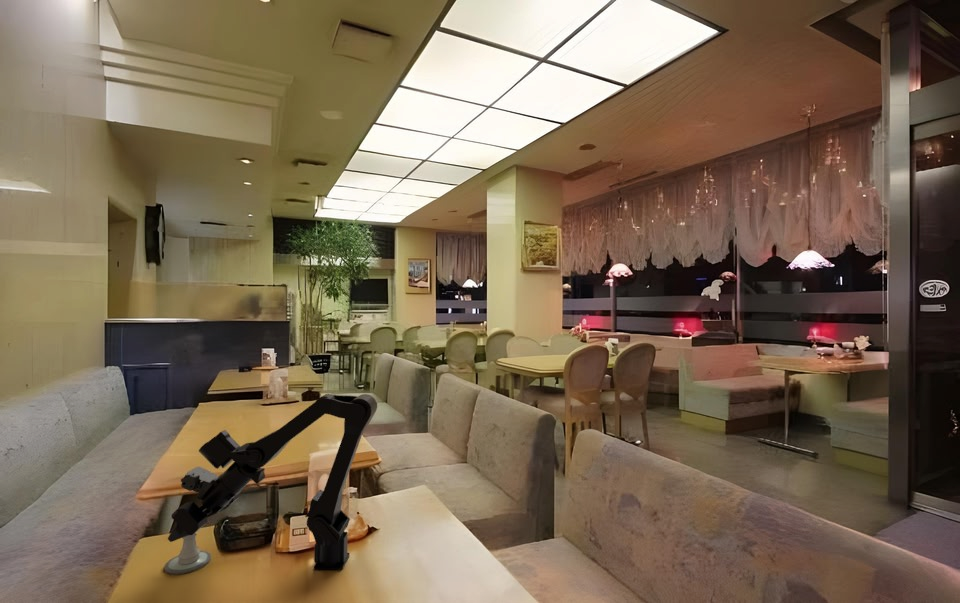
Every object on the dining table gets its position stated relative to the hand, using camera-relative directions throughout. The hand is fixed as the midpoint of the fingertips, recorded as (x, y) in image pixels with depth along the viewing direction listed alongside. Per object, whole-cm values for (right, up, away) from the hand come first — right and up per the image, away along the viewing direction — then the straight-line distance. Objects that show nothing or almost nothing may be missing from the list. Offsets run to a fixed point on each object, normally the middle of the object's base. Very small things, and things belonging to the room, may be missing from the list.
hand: (182, 530), depth 105 cm
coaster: (+1, -8, 0) cm, 8 cm away
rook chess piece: (+2, -7, 0) cm, 7 cm away
